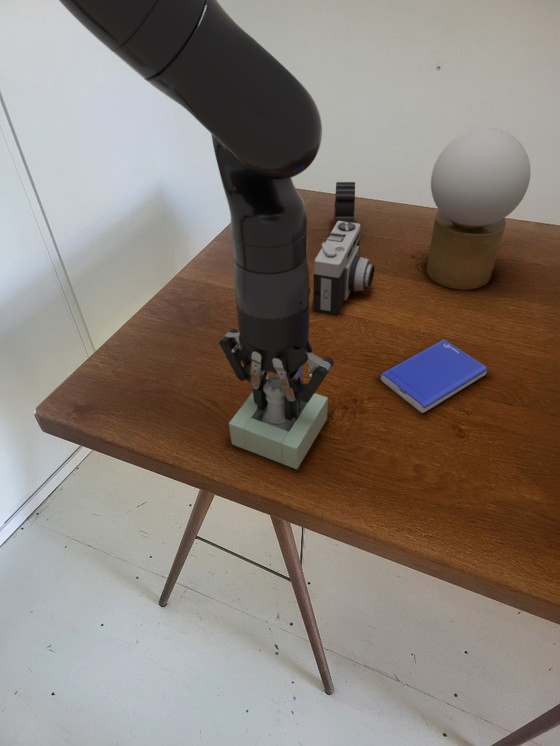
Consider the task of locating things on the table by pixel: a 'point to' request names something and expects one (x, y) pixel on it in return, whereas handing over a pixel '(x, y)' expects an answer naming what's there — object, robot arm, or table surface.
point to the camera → (340, 269)
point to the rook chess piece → (276, 405)
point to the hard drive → (433, 375)
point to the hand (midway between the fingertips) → (277, 410)
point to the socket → (279, 431)
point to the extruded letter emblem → (344, 202)
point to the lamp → (474, 204)
